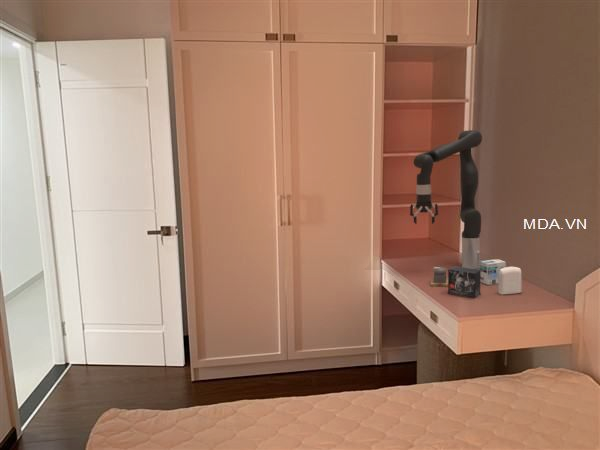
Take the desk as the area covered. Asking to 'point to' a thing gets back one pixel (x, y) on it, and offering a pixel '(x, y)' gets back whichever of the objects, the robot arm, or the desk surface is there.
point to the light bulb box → (491, 270)
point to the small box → (464, 281)
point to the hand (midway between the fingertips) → (424, 223)
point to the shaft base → (439, 283)
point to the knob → (439, 275)
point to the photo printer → (509, 280)
